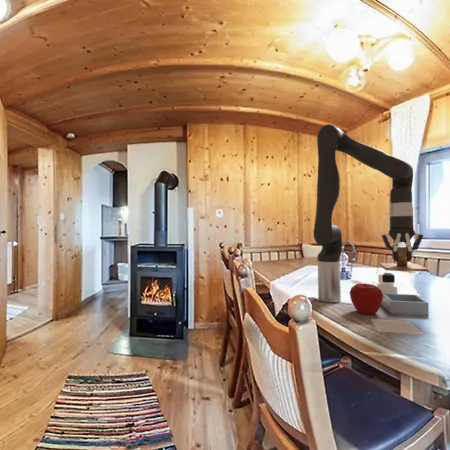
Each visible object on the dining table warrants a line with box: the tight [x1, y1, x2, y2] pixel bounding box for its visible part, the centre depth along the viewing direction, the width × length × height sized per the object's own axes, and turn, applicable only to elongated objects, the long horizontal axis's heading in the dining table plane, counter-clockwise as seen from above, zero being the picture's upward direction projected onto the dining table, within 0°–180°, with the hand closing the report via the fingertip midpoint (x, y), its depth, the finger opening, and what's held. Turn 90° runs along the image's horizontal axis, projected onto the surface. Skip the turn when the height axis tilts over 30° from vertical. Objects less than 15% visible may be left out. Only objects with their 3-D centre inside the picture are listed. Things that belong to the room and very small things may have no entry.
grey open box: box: [382, 293, 430, 316], centre depth 110 cm, size 12×12×5 cm
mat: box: [370, 318, 424, 335], centre depth 93 cm, size 12×12×1 cm
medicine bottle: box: [376, 272, 398, 304], centre depth 123 cm, size 7×7×12 cm
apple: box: [349, 283, 383, 316], centre depth 108 cm, size 11×11×12 cm
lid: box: [378, 246, 429, 273], centre depth 109 cm, size 13×13×8 cm
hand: (402, 261), depth 109 cm, fingers closed on lid, 3 cm apart
